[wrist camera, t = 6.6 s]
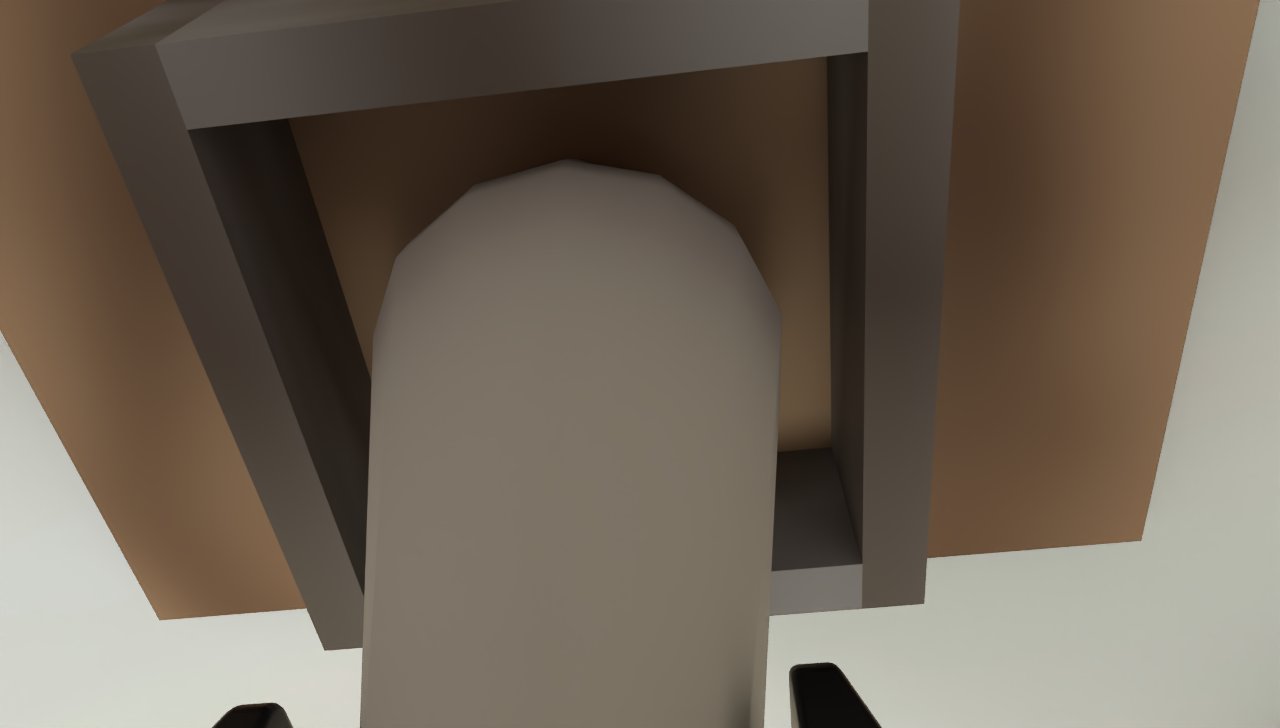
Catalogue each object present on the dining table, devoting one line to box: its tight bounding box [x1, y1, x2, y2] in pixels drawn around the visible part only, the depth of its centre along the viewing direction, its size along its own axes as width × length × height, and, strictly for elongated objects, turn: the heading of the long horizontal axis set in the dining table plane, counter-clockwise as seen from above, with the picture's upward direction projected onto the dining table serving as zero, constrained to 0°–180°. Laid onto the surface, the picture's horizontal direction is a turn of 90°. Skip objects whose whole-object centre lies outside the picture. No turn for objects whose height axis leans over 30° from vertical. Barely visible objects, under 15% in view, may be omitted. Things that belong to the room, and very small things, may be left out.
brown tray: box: [0, 0, 1260, 650], centre depth 15 cm, size 20×14×4 cm
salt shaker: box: [360, 159, 782, 728], centre depth 10 cm, size 6×6×13 cm
